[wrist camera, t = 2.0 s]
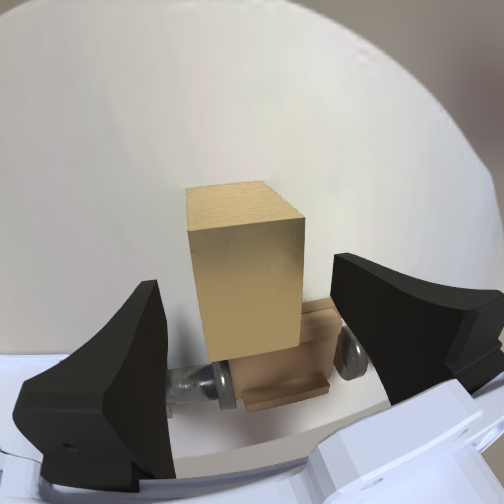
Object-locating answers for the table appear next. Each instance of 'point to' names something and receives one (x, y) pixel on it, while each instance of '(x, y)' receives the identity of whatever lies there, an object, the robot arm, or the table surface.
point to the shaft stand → (276, 367)
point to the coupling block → (246, 268)
